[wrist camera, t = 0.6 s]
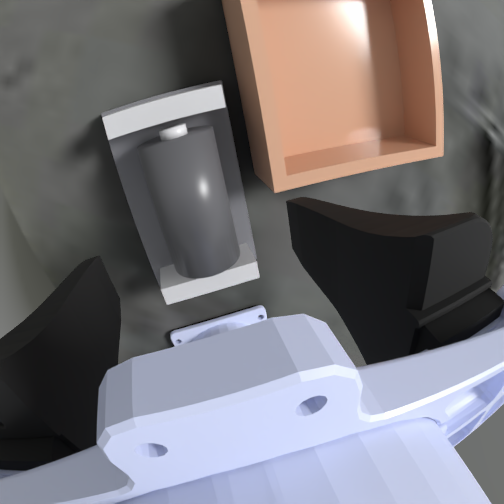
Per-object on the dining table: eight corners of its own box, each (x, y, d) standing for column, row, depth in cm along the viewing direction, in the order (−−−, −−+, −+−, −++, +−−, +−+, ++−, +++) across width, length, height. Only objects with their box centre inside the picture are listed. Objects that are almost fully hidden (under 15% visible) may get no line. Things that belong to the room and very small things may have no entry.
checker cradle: (252, 251, 23) (267, 277, 20) (159, 278, 22) (160, 309, 19) (218, 80, 17) (230, 78, 14) (104, 112, 16) (92, 117, 13)
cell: (228, 233, 21) (250, 262, 18) (170, 254, 20) (181, 287, 17) (201, 115, 17) (220, 119, 14) (133, 134, 16) (134, 144, 13)
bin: (408, 143, 22) (443, 155, 19) (254, 173, 21) (274, 193, 17) (390, -12, 16) (426, -20, 12) (218, -16, 14) (232, -38, 10)
